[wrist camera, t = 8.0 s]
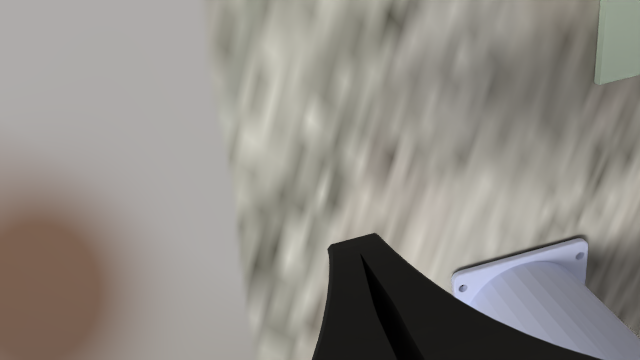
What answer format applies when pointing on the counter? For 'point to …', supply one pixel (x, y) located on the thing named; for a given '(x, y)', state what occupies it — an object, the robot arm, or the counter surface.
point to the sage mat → (618, 41)
